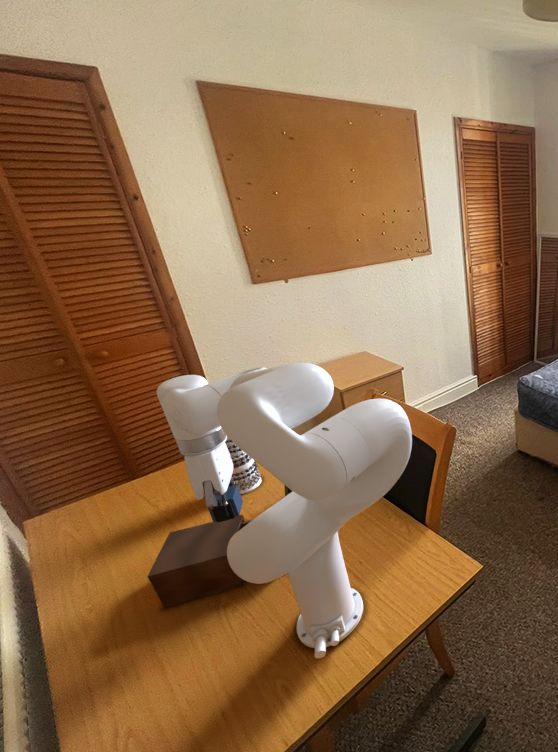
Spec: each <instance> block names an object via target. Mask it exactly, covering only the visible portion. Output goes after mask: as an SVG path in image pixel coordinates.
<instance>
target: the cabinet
mask: <svg viewBox="0 0 558 752" xmlns="http://www.w3.org/2000/svg"><path fill="white" fill-rule="evenodd" d="M244 521H246V520H245V518H244V515H243V514H240V515H239V516H236V517H235V518H234V519H230V520H226V521H222V522H213V521H211V522H207V523H203V524H199V525H195V526H190V527H187V528H181V529H177V530H174V531H170V532H169V533H168V534H167V537H166V539H165V541H164V542H163V544H162V546H161V549H160V551H159V552H158V554H157V556H156V559H155V561H154V563H153V564H152V567H151V568H150V570H149V572H148V574H147V579H148V580H149V583H150V584H151V587H152V588H153V590H154V592H155V594H156V596H157V598H158V599H159V602H160V603H161V605H162V607H163V609H167V608H171V607H174V606H177V605H181V604H184V603H187V602H190V601H195V600H198V599H201V598H204V597H207V596H212V595H214V594H218V593H222V592H225V591H228V590H231V589H235V588H238V587H242V586H244V583H245V580H243V579H242V578H240V577H239V576H237V575H236V574H235V573H234V571H233V570H232V568H231V567H230V565H229V562H228V558H227V547H228V543H229V541H230V539H231V538H232V536H233V535H234V534H235V533H237V532H238V531H239V530H240V527H241V523H242V522H244Z"/></svg>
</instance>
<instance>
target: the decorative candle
mask: <svg viewBox="0 0 558 752" xmlns="http://www.w3.org/2000/svg"><path fill="white" fill-rule="evenodd" d="M226 436H227V435H226ZM225 443H226V446H227V448H228V451H229V453H230V456H231V459H232V462H233V473H232V478H233V480H234V485H237V486H238V489H239V492H240V494H241V495H244V494H247V493H250V492H251V491H253V490H255V489H256V488H258V487H259V486H260V485H261V484H262V482H263V481H262V477H261V473H260V470H259V468H258V464H257V462H256V461H255V460H254V459H252V458H251V457H250V456H248V455H247V454H246V453H245V452H244V451H242V450H241V449H240V448H239V447H238V446H237V445H236V444H235V443H233V442H232V441H231V439H230V438H229V437H228V436H227V440H226V442H225ZM232 486H233V485H232Z"/></svg>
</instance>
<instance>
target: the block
mask: <svg viewBox="0 0 558 752" xmlns="http://www.w3.org/2000/svg"><path fill="white" fill-rule="evenodd" d="M216 491H217V490H215V492H216ZM226 496H227V500H228V502H231V505H232V508H233V510H234V513H235V517H236V516H239V515H241V512H242V507H243V504H244V501H243V498H242V494H240V492H239V489H238V486H237V485H235V486H230V487H228V488H227V491H226ZM215 498H216V500H218V499H221V500H222V497H221V495H219V496H215ZM207 510H208V512H209V515H210V518H211V520H212V522H217V521H216V519H215V516H214V514H213V511H212V509H211V508H207Z"/></svg>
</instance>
